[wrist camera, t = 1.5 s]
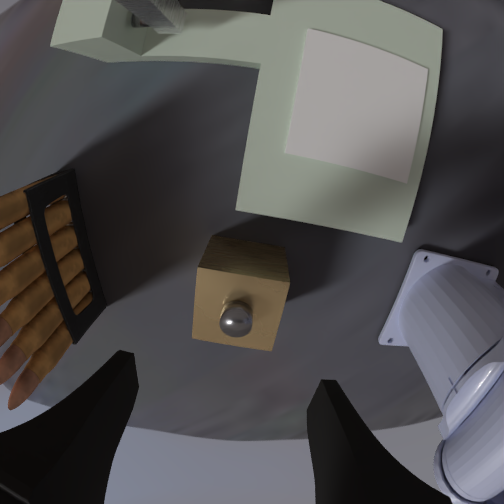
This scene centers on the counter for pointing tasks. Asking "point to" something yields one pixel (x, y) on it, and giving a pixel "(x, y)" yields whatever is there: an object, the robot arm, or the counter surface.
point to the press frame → (304, 99)
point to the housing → (240, 293)
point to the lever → (156, 15)
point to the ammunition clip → (44, 279)
